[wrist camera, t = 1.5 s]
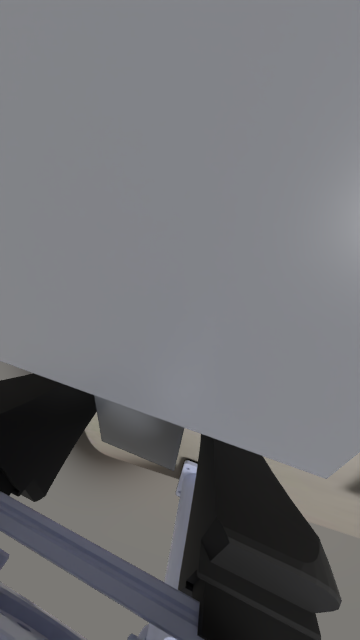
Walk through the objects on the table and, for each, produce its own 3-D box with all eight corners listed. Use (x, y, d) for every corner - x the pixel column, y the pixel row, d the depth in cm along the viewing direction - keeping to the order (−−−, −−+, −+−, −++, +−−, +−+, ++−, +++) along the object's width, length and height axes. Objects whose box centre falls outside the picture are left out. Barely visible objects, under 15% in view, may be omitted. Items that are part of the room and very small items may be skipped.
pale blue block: (195, 380, 14) (172, 476, 8) (152, 367, 14) (102, 446, 9) (227, 245, 9) (229, 240, 3) (160, 236, 10) (63, 218, 4)
